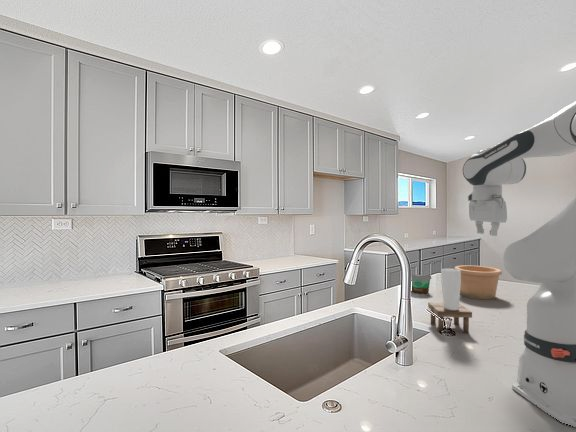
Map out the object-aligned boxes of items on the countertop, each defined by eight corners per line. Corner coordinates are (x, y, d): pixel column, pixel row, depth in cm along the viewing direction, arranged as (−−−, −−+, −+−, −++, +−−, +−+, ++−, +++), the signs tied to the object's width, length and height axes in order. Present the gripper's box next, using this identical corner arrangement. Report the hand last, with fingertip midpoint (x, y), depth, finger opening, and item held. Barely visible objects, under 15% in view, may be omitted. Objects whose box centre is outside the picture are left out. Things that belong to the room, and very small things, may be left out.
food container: (408, 293, 182) (408, 275, 182) (407, 290, 188) (407, 273, 188) (432, 295, 179) (432, 276, 178) (431, 292, 184) (431, 274, 184)
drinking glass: (463, 312, 123) (463, 271, 123) (444, 311, 124) (443, 271, 124) (457, 306, 130) (457, 268, 130) (439, 306, 131) (438, 268, 131)
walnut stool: (471, 333, 123) (472, 312, 123) (438, 332, 125) (438, 311, 125) (458, 322, 135) (458, 303, 135) (428, 321, 137) (428, 302, 136)
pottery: (447, 295, 179) (447, 268, 179) (463, 288, 194) (463, 263, 193) (493, 303, 163) (493, 274, 163) (506, 295, 178) (506, 268, 177)
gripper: (513, 194, 107) (512, 237, 108) (483, 196, 128) (482, 232, 128) (492, 194, 108) (491, 237, 108) (465, 196, 128) (465, 232, 129)
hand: (486, 234), depth 118 cm, fingers open, 8 cm apart
